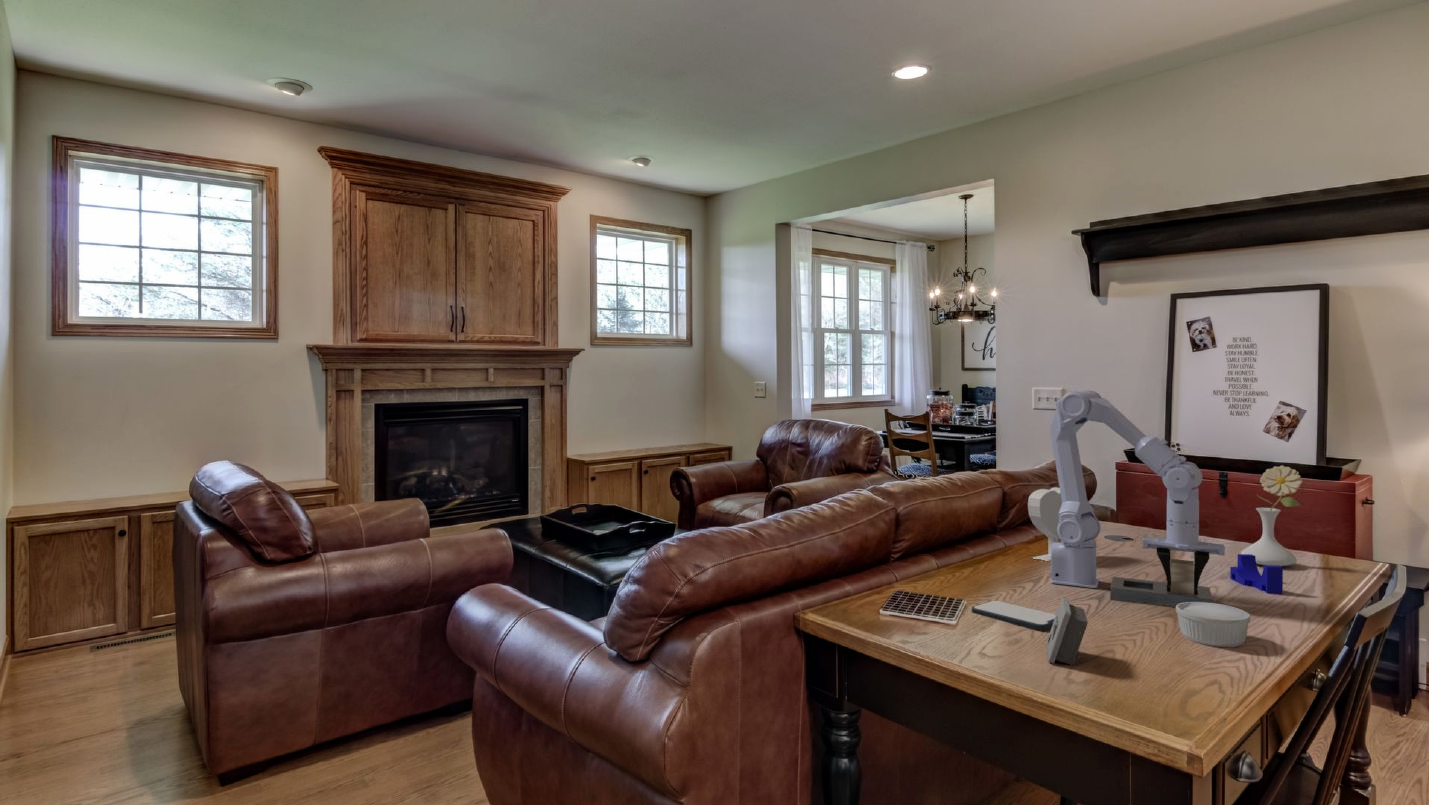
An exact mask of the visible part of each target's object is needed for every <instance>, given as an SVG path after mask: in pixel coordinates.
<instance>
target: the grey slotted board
mask: <svg viewBox="0 0 1429 805" xmlns="http://www.w3.org/2000/svg"><path fill="white" fill-rule="evenodd" d="M1111 579H1112V580H1111V584H1110V600H1111V601H1113V600H1114V601H1120V600H1123V601H1122V602H1129V603H1136V602H1140V603H1139V604H1144V603H1146V605H1147V603H1148V605H1154V606H1161V605H1165V606H1164V607H1169V608H1176V606H1177V605H1178V604H1180V603H1185V602H1206V603H1213V596H1212V593H1211V588H1210V586H1202V585H1201V586H1199V585H1198V588H1194V595H1193V594H1185V593H1176V592H1171V585H1167V581H1166V582H1165V581H1164V582H1163V581H1154V580H1146V579H1138V578H1137V579H1136V578H1127V577H1119V576H1113V577H1112V578H1111Z"/></svg>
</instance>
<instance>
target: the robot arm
mask: <svg viewBox="0 0 1429 805" xmlns="http://www.w3.org/2000/svg"><path fill="white" fill-rule="evenodd" d="M1055 407H1056V409H1055V412H1054V414H1053V417H1052V420H1051V423H1050V425H1049V432H1050V437H1051V438H1050V439H1051V446H1052V452H1053V455H1054V463H1055V467H1056V468H1055V469H1056V473H1057V474H1056V475H1057V480H1058V485H1059V487H1058V488H1060V493H1061V499H1062V506H1061V508H1060V510H1059V523H1058V526H1057V533H1058V536H1059V538H1060V539H1059V540H1061V541H1060V542H1059V541H1058V542H1053V543H1052V549H1051V561H1050V583H1051V584H1055V585H1057V584H1058V585H1066V586H1072V587H1073V586H1074V587H1083V588H1092V589H1097V588H1098V586H1099V583H1100V578H1099V577H1097V542H1096V537H1098V536H1099V534H1100V532H1101V523H1100V521H1099V519H1098V518H1097V517H1096V514H1095V512H1094V507H1093V506H1092V504H1091V503H1090V502H1089V501H1088V497H1087V496H1088V495H1087V491H1086V486H1085V485H1086V484H1085V478H1084V473H1083V468H1082V462H1081V456H1080V450H1079V445H1078V444H1079V443H1078V439H1077V433H1078V432H1079V430H1080V429H1081V428H1082V427H1083V426H1084V425H1085V424H1086V423H1087V422H1089V421H1091V422H1095V423H1101V424H1104V425H1106V426H1107V427H1108V428H1110V430H1112V431H1113V432H1115V433H1116V434H1118V435H1119V436H1120V437H1121V438H1122V439H1124V441H1127V442H1128V443H1129V444H1130V445H1131V446H1133V447H1134V455H1135V457H1137V459H1139V460H1140V461H1142V463H1143V464H1145V466H1147V467H1149V469H1151V470H1152V471H1153V472H1154V473H1155V474H1156V475H1157V476H1158V477H1161V481H1162V484H1163V485H1164V487H1165V488H1166V489H1167V490H1166V492H1167V493H1166V537H1165V538H1153V537H1152V538H1151V537H1142V541H1141V542H1142V543H1141V544H1142V546H1141V548H1142V549H1144V550H1145V549H1147V550H1148V549H1152V550H1153V549H1155V550H1156V554H1157V557H1158V559H1159V562H1160V563H1161V566H1162V569H1163V571H1164V573H1165V578H1166V583H1167V585H1171V551H1174V552H1175V551H1176V552H1177V551H1178V552H1187V553H1193V554H1194V555H1193V556H1194V558H1193V559H1194V560H1193V562H1194V588H1198V586H1199V581H1200V578H1201V576H1202V574H1203V572H1204V571H1203V570H1204V569H1205V567H1206V565H1207V563H1208V562H1209V560H1210V555H1218V556H1225V555H1226V552H1225V550H1226V546H1225V544H1220V543H1213V542H1212V543H1211V542H1206V541H1200V539H1199V536H1200V532H1199V531H1200V500H1199V492H1200V491H1199V486H1200V485H1201V484H1202V482H1203V473H1202V470H1201V469H1200V468H1199V467H1198V466H1197V464H1196V463H1193V462H1192V461H1191V462H1190V461H1187V457H1185V456H1183V455H1181V456H1180V455H1179V454H1178V453H1177V452H1175V450H1173V449H1172V448H1171V447H1169V446H1168V445H1167V444H1168V441H1167V440H1166V439H1165V438H1158V437H1157V436H1147V435H1146V434H1145V433H1144V432H1143V431H1141V429H1139V428H1138V427H1137V426H1136V425H1135V424H1134V423H1133V422H1131V421H1130V420H1129V419H1128V418H1127V416H1125V415H1124V414H1123V413H1122V412H1121V411H1120V410H1118V408H1116V407H1115V405H1113V403H1112V402H1110V400H1108V399H1106V398H1104V397H1102V396H1101V395H1100V394H1099V393H1098V392H1096V391H1094V390H1083V391H1077V390H1074V391H1073V390H1072V391H1068V392H1066V393H1065V394H1063V395H1062V397H1060V399H1059V400H1058V401H1057V402H1056V404H1055Z"/></svg>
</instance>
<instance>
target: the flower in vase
mask: <svg viewBox="0 0 1429 805" xmlns="http://www.w3.org/2000/svg"><path fill="white" fill-rule="evenodd" d="M1301 477H1302V476H1301V475H1300V473H1299V471H1297V470H1296V469H1293V468H1291V467H1289V466H1284V465H1280V466H1276V465H1275V466H1273V467H1272V468H1267V469H1266V470H1265V472H1263V473H1262V476H1260V480H1259V482H1260V484H1261V486H1262V487H1263V491H1266V492H1268V493H1270V494H1271V495H1275V496H1279V498H1278V499H1277V501H1276V502H1274V503H1272V502H1271V501H1270V500H1268V499H1266V498H1263V497H1261V496H1260V495H1258V494H1256V493H1255V494H1256V496H1257V497H1258V498H1259V499H1261V500H1263V501H1265V502H1266V503H1269V504H1272V506H1271V507H1256V508H1255V510H1256V511H1257V512H1258V513H1259V515H1260V518H1261V523H1262V534H1261V537H1260V539H1258V540H1257V541H1256V542H1254V543H1252V544H1251V545H1248V546H1247V547H1245V548H1244V549H1243V550H1241V552H1240V554H1252V555H1254V556H1255V558H1256V565H1260V566H1263V565H1274V566H1281V567H1288V566H1293V565H1295V564H1296V563H1297V561H1298V560H1297V557H1296V556H1295V555H1294V554H1293V553H1292V552H1291V551H1289V549H1287V548H1286V547H1284V546H1283V545H1282V544H1281V543H1279V542H1278V541H1277V539H1276V537H1275V524H1276V523H1275V522H1276V518H1277V517H1278V515H1279V513H1280V512H1282V510H1281V508H1280V509H1279V508H1275V506H1276V505H1278V503H1279V502H1280V503H1282V505H1283V506H1284V507H1288V508H1291V507H1301V506H1302V505H1301V504H1300V503H1299V501H1298V500H1296V499H1295V498H1294V497H1292V496H1287V497H1284V496H1286V495H1292V494H1294V493H1296V492H1297V491H1298V490H1299V488H1300V487H1301V485H1302V483H1303V479H1302V478H1301ZM1282 497H1283V498H1282Z"/></svg>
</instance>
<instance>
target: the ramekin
mask: <svg viewBox="0 0 1429 805" xmlns="http://www.w3.org/2000/svg"><path fill="white" fill-rule="evenodd" d="M1175 612H1176V614H1177V618H1178V619H1177V620H1178V624H1179V625H1178V626H1179V629H1180V632H1181V635H1183V637H1184V638H1186V639H1188V640H1189V641H1192V642H1195V643H1198V644H1201V645H1206V646H1211V647H1218V648H1220V647H1221V648H1235V647H1236V646H1237V647H1240V646H1241V645H1242V644H1244V643H1245V641H1246V639H1247V634H1248V628H1249V624H1250V623H1251V615H1250V614H1249V613H1248V612H1247V611H1245V610H1243V609H1240V608H1237V607H1235V606H1230V605H1226V604H1221V603H1215V602H1212V603H1206V602H1185V603H1180V604H1178V605H1177V606H1176V607H1175Z"/></svg>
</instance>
